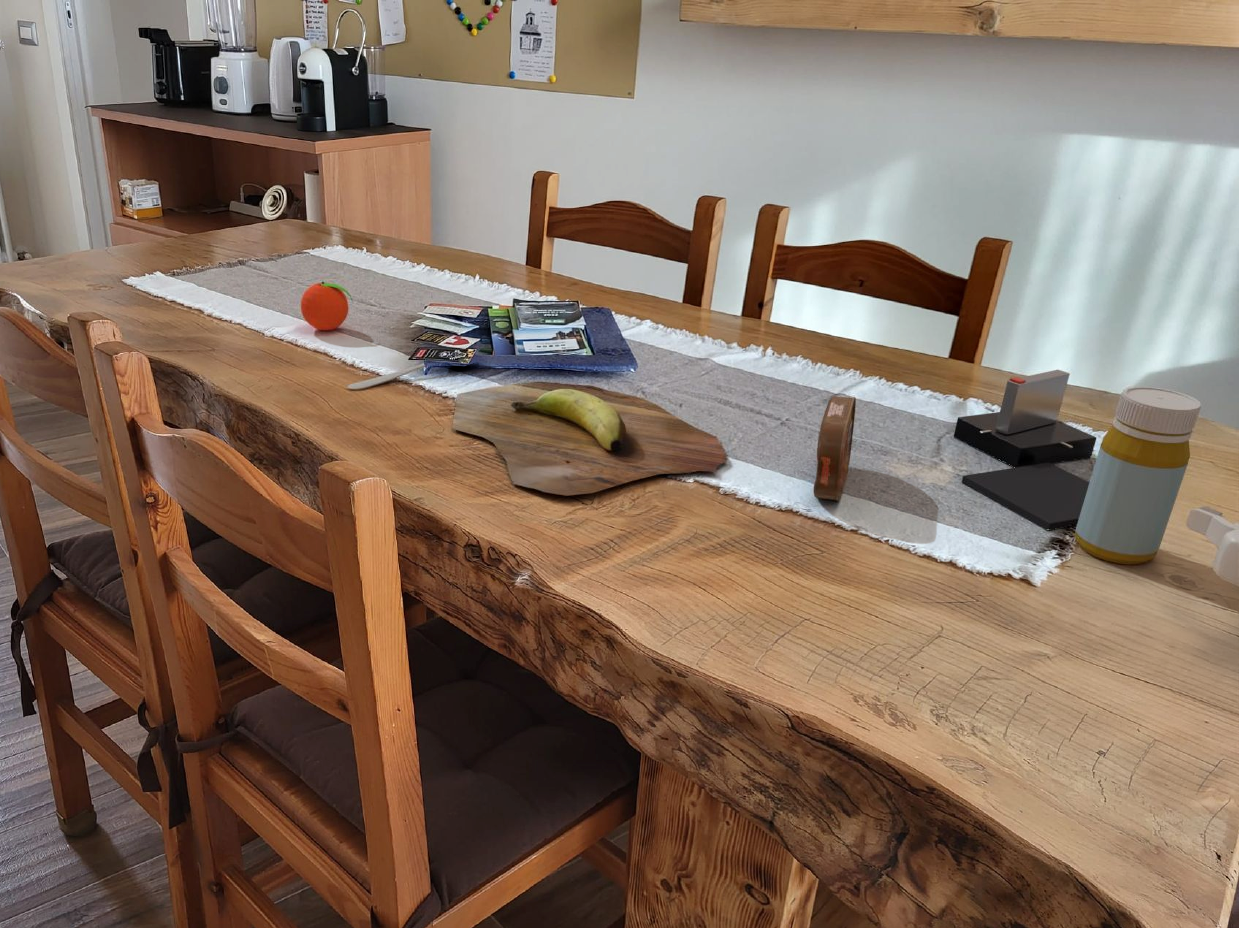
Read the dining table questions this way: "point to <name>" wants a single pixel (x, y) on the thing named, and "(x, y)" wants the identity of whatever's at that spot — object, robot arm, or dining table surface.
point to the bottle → (1137, 475)
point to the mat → (1035, 492)
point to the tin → (834, 448)
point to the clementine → (325, 306)
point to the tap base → (1025, 441)
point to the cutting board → (582, 436)
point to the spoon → (382, 378)
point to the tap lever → (1032, 401)
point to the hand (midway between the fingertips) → (1225, 505)
